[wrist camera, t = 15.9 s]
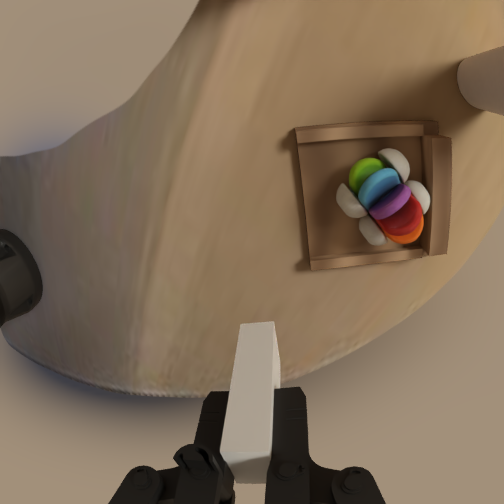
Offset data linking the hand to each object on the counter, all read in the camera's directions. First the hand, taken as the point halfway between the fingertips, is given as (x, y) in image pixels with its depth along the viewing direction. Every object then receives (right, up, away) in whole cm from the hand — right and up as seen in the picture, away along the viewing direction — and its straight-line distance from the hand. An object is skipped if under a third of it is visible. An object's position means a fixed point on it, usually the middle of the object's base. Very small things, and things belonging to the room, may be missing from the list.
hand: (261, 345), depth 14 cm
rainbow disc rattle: (+13, +11, +18) cm, 25 cm away
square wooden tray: (+13, +11, +19) cm, 25 cm away
